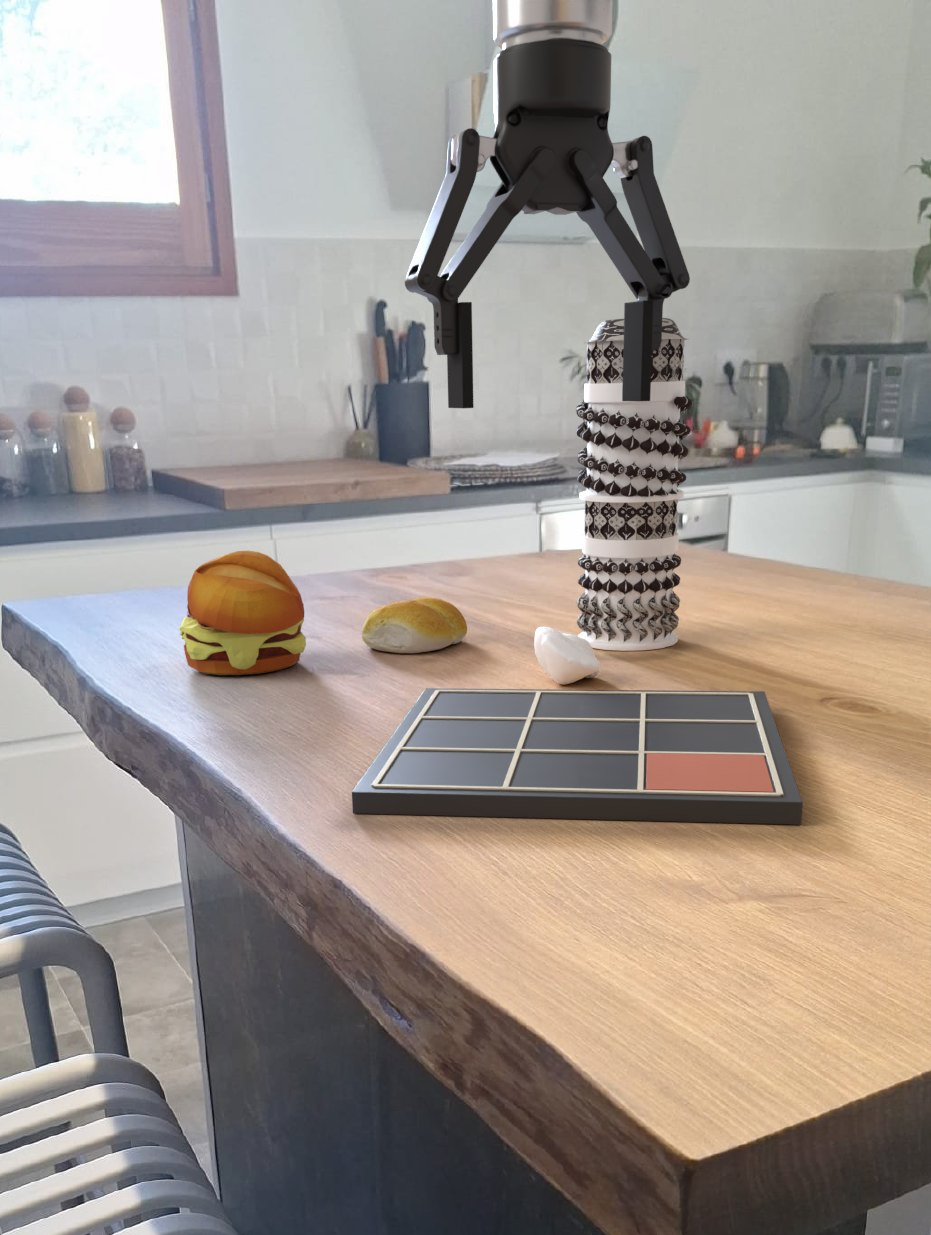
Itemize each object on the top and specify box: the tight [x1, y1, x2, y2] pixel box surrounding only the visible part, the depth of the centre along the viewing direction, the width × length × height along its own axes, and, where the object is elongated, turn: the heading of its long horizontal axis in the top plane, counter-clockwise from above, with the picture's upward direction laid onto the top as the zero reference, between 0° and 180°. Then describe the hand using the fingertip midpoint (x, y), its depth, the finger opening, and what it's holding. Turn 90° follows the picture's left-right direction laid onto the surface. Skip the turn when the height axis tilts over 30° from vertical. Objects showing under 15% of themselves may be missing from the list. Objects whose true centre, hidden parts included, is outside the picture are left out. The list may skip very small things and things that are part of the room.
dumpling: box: [533, 626, 608, 686], centre depth 91 cm, size 7×5×4 cm
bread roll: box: [361, 596, 468, 654], centre depth 105 cm, size 8×9×4 cm
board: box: [351, 687, 804, 826], centre depth 74 cm, size 23×23×1 cm
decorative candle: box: [575, 317, 694, 652], centre depth 100 cm, size 9×9×25 cm
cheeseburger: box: [178, 550, 307, 676], centre depth 98 cm, size 10×11×10 cm
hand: (550, 405), depth 86 cm, fingers open, 13 cm apart
